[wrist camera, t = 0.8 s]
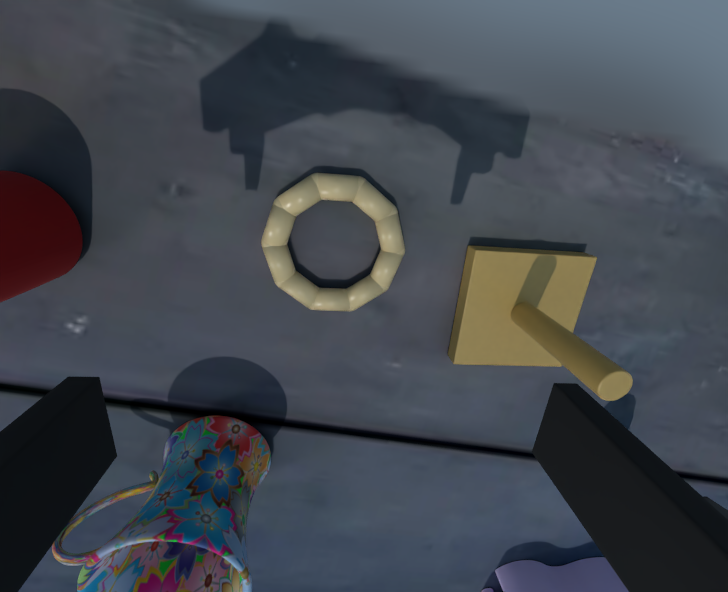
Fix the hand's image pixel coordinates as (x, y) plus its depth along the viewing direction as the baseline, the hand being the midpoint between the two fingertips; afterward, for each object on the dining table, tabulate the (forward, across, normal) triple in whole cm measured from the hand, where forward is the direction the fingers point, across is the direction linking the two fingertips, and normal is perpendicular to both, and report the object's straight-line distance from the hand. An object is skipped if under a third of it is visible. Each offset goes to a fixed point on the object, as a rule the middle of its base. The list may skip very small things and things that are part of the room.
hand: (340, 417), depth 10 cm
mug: (+16, -10, -16) cm, 25 cm away
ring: (+14, 0, +2) cm, 15 cm away
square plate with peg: (+15, +14, -2) cm, 21 cm away
